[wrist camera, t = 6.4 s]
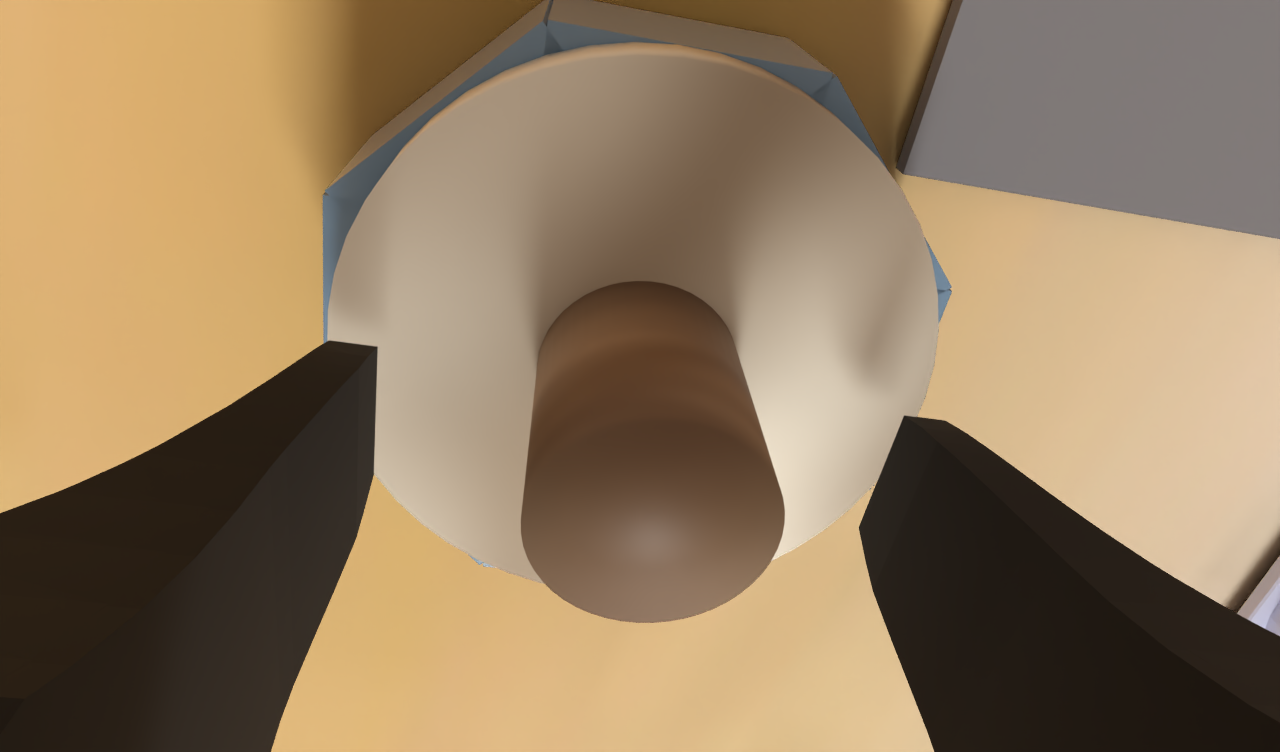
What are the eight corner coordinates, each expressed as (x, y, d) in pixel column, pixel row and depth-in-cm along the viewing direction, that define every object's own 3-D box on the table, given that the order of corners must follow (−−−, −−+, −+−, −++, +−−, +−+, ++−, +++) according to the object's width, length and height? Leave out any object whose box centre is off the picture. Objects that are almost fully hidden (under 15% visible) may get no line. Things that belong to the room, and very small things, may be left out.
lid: (1017, 136, 12) (1221, 256, 8) (799, 587, 16) (864, 806, 12) (378, -42, 10) (254, 3, 7) (322, 508, 15) (228, 732, 11)
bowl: (946, 68, 14) (1025, 108, 12) (795, 503, 19) (828, 599, 17) (374, -43, 13) (321, -23, 11) (362, 454, 18) (324, 551, 15)
